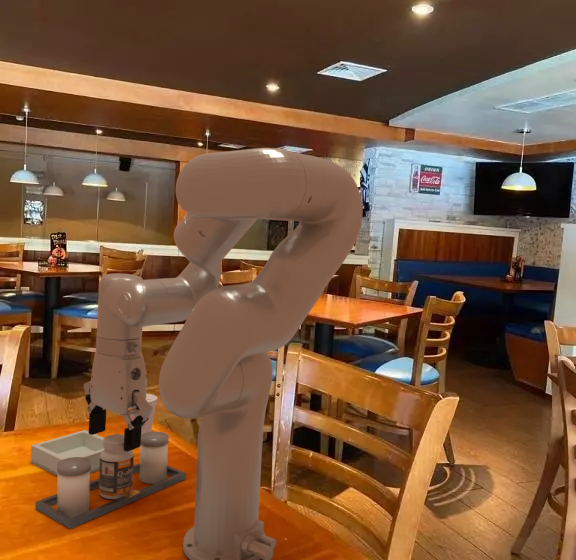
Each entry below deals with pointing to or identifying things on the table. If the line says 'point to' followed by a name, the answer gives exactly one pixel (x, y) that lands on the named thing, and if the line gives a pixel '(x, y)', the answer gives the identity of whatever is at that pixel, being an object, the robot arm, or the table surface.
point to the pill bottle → (115, 468)
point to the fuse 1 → (73, 486)
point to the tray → (68, 450)
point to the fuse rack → (129, 497)
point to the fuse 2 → (153, 457)
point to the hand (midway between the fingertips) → (113, 440)
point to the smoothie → (148, 424)
